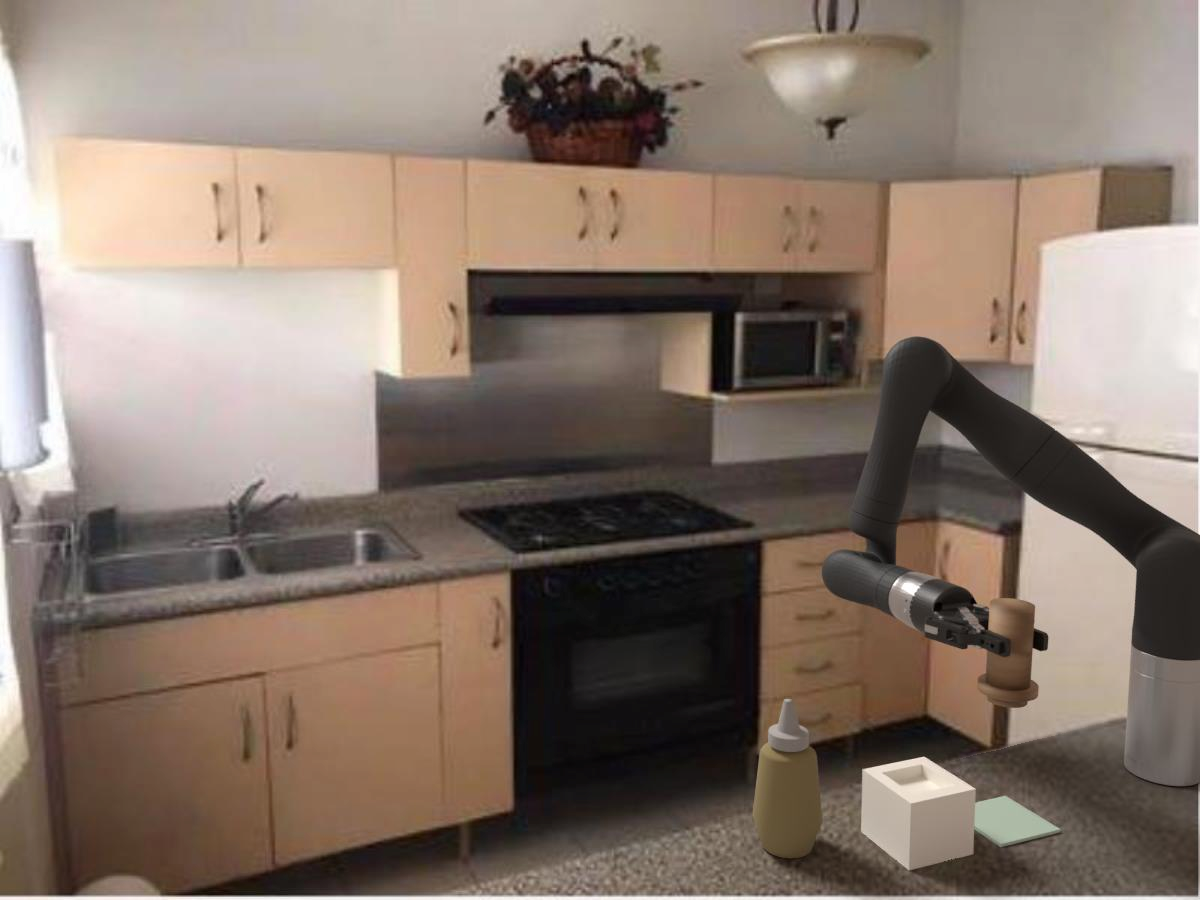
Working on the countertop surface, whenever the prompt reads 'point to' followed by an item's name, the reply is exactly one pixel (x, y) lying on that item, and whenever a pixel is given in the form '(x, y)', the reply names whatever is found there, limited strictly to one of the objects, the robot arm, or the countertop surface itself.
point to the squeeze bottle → (787, 789)
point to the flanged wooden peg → (1013, 673)
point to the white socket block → (918, 812)
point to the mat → (1009, 822)
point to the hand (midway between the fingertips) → (1026, 645)
